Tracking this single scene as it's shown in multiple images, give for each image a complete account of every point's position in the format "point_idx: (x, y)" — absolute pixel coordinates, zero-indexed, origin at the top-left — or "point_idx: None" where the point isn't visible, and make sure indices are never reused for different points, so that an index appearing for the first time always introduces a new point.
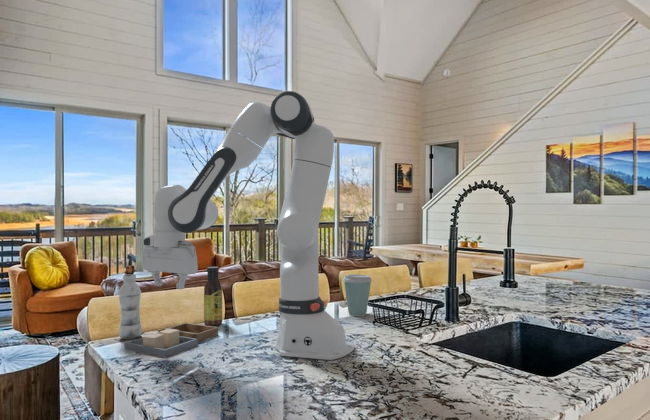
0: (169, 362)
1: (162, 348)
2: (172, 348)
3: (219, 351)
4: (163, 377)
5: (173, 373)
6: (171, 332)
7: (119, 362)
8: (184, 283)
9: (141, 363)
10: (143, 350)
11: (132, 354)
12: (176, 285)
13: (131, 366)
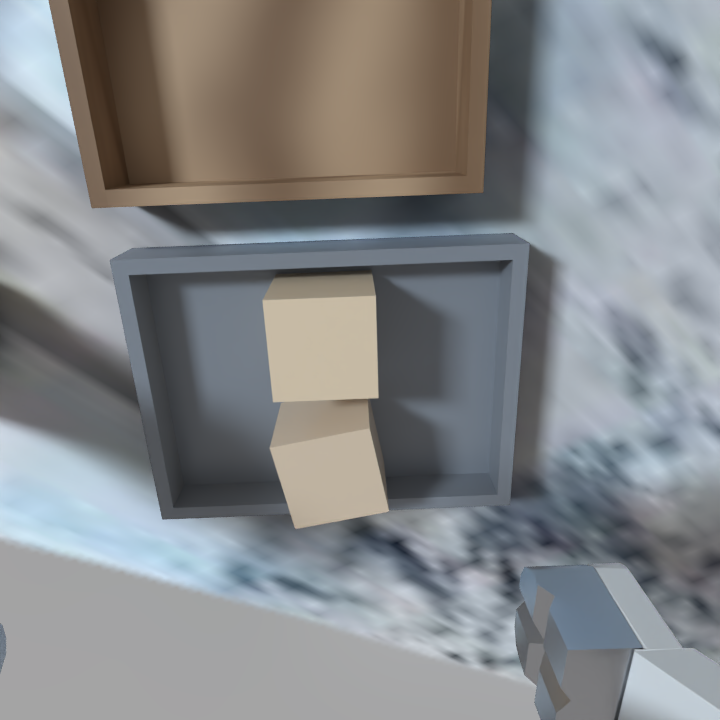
0: (554, 493)
1: (370, 403)
2: (511, 453)
3: (712, 231)
4: (668, 613)
5: (678, 571)
6: (377, 371)
7: (324, 591)
8: (669, 629)
9: (434, 557)
10: None
11: None
12: (542, 701)
13: (426, 597)
